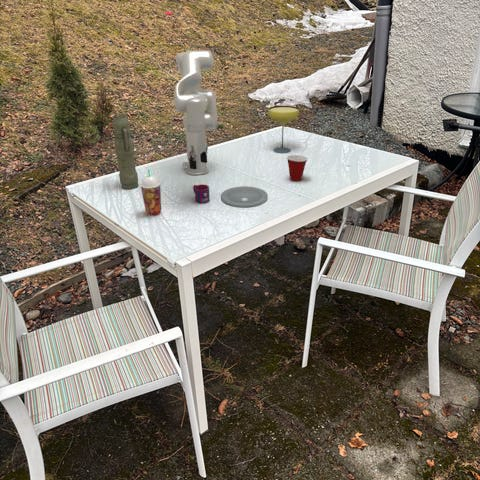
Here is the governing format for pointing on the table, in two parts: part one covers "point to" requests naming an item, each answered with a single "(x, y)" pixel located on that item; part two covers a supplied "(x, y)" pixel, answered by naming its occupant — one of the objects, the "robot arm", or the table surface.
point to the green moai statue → (125, 153)
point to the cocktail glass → (283, 120)
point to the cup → (201, 193)
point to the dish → (244, 196)
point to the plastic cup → (296, 166)
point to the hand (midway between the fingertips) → (198, 165)
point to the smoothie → (151, 194)
